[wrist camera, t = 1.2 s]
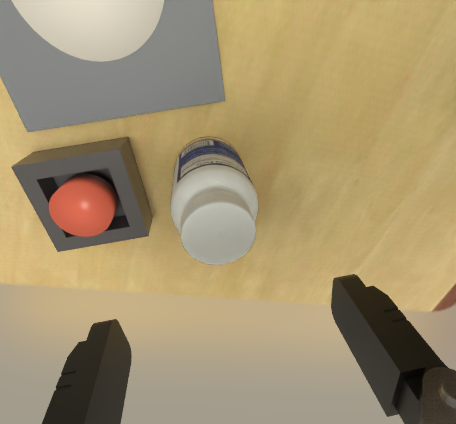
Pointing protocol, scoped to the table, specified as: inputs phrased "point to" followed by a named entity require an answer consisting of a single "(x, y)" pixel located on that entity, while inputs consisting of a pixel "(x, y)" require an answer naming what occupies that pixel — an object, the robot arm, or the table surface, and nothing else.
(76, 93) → the grey mat
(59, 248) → the button housing
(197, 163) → the pill bottle
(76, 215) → the button
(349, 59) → the table surface
